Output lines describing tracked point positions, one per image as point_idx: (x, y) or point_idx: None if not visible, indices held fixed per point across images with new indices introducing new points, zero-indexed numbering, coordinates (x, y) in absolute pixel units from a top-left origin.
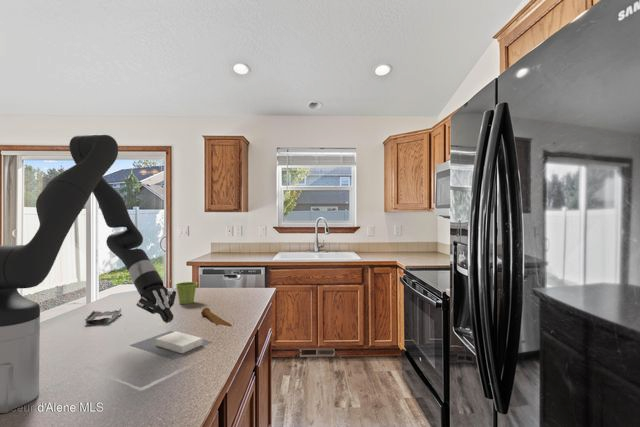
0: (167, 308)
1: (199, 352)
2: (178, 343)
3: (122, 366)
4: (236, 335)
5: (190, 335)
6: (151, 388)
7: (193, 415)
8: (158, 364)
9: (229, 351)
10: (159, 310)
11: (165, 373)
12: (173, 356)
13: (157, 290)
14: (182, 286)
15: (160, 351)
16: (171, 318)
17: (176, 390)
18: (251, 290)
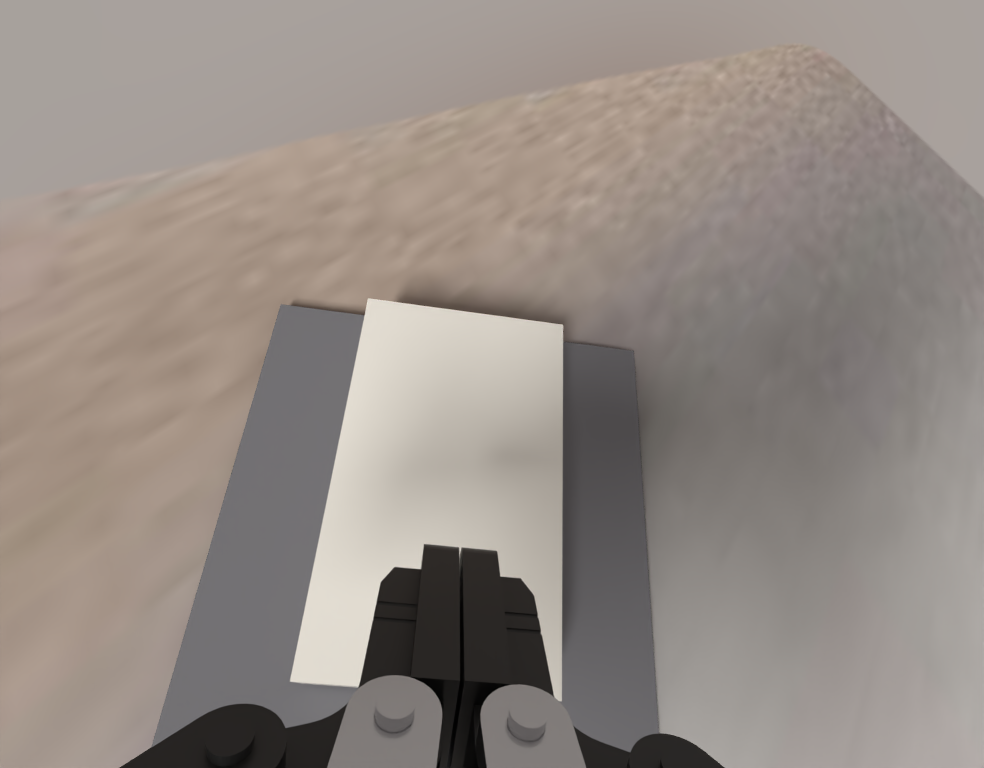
0: (415, 693)
1: (448, 306)
2: (538, 388)
3: (867, 612)
4: (59, 254)
5: (347, 427)
6: (840, 256)
7: (814, 60)
8: (701, 410)
9: (362, 168)
10: (587, 743)
11: (733, 297)
12: (605, 379)
13: None
14: None
15: (600, 536)
16: (452, 547)
17: (778, 168)
18: None
